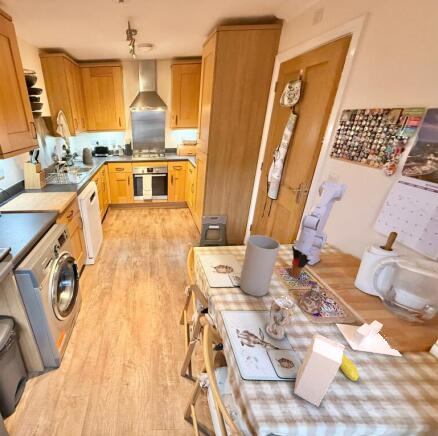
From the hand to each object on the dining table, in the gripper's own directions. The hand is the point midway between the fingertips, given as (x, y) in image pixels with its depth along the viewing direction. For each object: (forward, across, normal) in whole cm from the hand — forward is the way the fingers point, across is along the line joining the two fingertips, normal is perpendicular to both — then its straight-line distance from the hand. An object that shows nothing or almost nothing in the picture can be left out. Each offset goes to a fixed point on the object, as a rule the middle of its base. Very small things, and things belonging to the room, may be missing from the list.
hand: (298, 263), depth 114 cm
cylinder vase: (+7, +12, -24) cm, 27 cm away
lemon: (+8, +48, -6) cm, 49 cm away
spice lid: (-2, 0, 0) cm, 2 cm away
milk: (+8, +56, -21) cm, 61 cm away
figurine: (+7, +22, -4) cm, 23 cm away
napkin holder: (+8, +35, +10) cm, 37 cm away
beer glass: (+8, +36, -22) cm, 43 cm away
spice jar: (+7, 0, 0) cm, 7 cm away
